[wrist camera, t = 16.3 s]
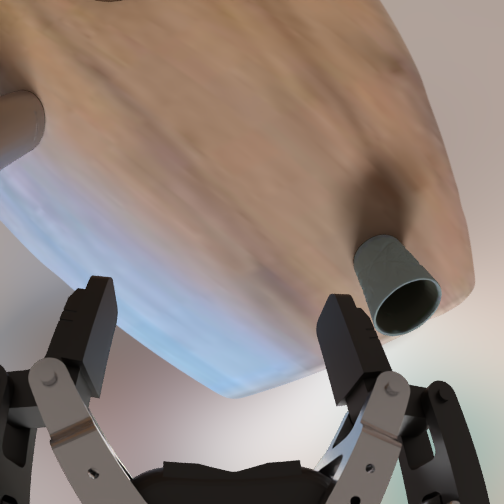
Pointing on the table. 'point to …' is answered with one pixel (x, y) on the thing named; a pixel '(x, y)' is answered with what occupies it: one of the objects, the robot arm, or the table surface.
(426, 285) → the grey-green cup
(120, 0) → the walnut plinth
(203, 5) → the table surface
